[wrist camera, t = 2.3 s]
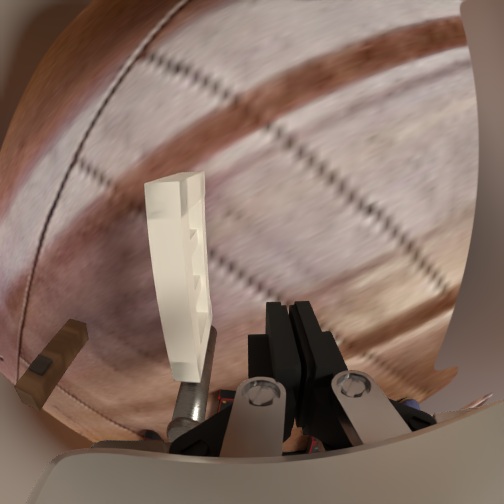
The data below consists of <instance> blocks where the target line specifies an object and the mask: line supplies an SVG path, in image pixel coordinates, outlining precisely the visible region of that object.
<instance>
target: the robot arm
mask: <svg viewBox="0 0 504 504" xmlns="http://www.w3.org/2000/svg"><path fill="white" fill-rule="evenodd" d="M248 377H249V379H248V380H246V381H244V382H242V383H241V384H240V385H239V387H238V389H237V391H236V395H235V399H234V403H232V404H231V405H229V406H228V407H226V408H225V409H223V410H222V411H220V412H219V413H217V414H215V415H214V416H212V417H211V418H209V419H208V420H206V421H204V422H203V423H201V424H199V425H198V426H196V427H194V428H193V429H191V430H189V431H188V432H186V433H184V434H183V435H181V436H179V437H178V438H177V439H175V440H174V441H173V442H164V441H163V440H134V441H123V440H104V441H99V442H97V443H95V444H94V445H93V446H92V447H91V448H88V449H78V450H72V451H68V452H64V453H62V454H60V455H58V456H56V457H55V458H54V459H53V460H52V461H51V462H49V464H48V465H47V466H46V467H45V469H44V470H43V472H42V473H41V475H40V476H39V478H38V479H37V481H36V483H35V485H34V487H33V489H32V491H31V493H30V495H29V497H28V499H27V502H26V504H504V400H499V401H495V402H493V403H489V404H486V405H484V406H481V407H479V408H468V409H462V410H456V411H449V412H441V413H434V415H433V416H431V415H429V414H427V413H425V412H423V411H420V410H418V409H415V408H412V407H409V406H407V405H404V404H402V403H399V402H396V401H394V400H391V399H389V398H387V397H386V396H385V394H384V393H383V392H382V390H381V389H380V388H379V386H378V385H377V384H376V382H375V381H374V379H372V378H371V377H370V376H369V375H368V374H366V373H364V372H361V371H356V370H348V369H347V366H346V364H345V362H344V360H343V357H342V355H341V353H340V351H339V348H338V346H337V344H336V342H335V340H334V337H333V335H332V333H331V332H330V331H326V332H322V331H321V328H320V326H319V324H318V321H317V319H316V316H315V314H314V312H313V309H312V307H311V305H310V302H309V301H295V303H294V305H290V306H289V315H288V311H287V307H286V305H281V302H266V334H252V335H248ZM294 419H295V420H296V426H297V427H302V430H303V435H308V434H309V435H311V436H313V437H314V438H316V439H317V440H316V443H317V447H318V449H319V453H311V454H302V455H291V456H282V445H283V443H284V442H285V441H286V440H287V439H288V438H289V437H290V436H291V430H292V428H293V425H294Z"/></svg>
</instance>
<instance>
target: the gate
mask: <svg viewBox="0 0 504 504" xmlns="http://www.w3.org/2000/svg"><path fill="white" fill-rule="evenodd" d="M144 187H145V202H146V214H147V225H148V235H149V244H150V253H151V260H152V268H153V275H154V282H155V289H156V295H157V301H158V307H159V313H160V318H161V323H162V329H163V334H164V339H165V344H166V348H167V353H168V357H169V362H170V366H171V371H172V375H173V379H174V381H183V382H200V381H201V376H202V370H203V365H204V359H205V354H206V349H207V343H208V338H209V333H210V328H211V323H212V308H211V301H210V293H209V279H208V263H207V246H206V227H205V203H204V195H205V175H204V171H201V172H181V173H178V174H174V175H171V176H167V177H164V178H161V179H157V180H154V181H151V182H148V183H145V184H144Z"/></svg>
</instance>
